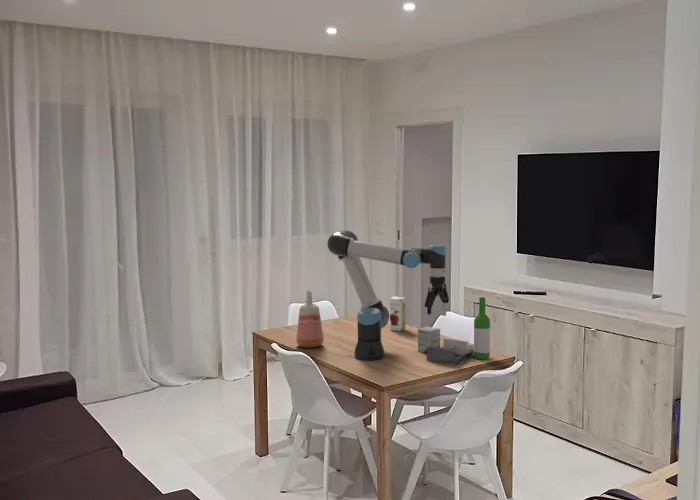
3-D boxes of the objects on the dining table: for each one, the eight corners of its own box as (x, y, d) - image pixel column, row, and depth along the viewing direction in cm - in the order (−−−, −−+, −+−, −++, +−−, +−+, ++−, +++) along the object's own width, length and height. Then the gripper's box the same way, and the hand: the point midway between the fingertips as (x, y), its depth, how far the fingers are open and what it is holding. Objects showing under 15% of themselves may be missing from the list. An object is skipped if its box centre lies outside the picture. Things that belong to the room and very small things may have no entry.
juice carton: (394, 327, 390) (394, 295, 388) (407, 329, 385) (407, 297, 383) (387, 330, 384) (387, 297, 382) (400, 332, 379) (400, 299, 377)
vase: (290, 346, 351) (289, 291, 347) (310, 341, 361) (309, 287, 358) (309, 351, 341) (308, 294, 337) (329, 345, 351) (328, 290, 348)
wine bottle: (472, 355, 330) (473, 296, 326) (488, 355, 330) (489, 296, 326) (474, 360, 322) (475, 299, 318) (490, 360, 322) (491, 299, 318)
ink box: (440, 350, 340) (440, 328, 338) (430, 354, 333) (431, 331, 332) (427, 347, 345) (427, 325, 344) (417, 351, 339) (417, 328, 338)
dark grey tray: (475, 355, 331) (475, 341, 330) (456, 365, 314) (456, 351, 313) (446, 350, 340) (446, 337, 339) (426, 360, 323) (426, 346, 322)
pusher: (468, 355, 327) (468, 341, 327) (463, 357, 323) (463, 343, 322) (444, 351, 335) (444, 337, 334) (439, 353, 330) (439, 340, 329)
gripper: (431, 280, 317) (430, 323, 320) (456, 273, 337) (455, 314, 340) (417, 278, 322) (417, 321, 324) (443, 272, 342) (442, 312, 344)
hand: (436, 317), depth 332 cm, fingers open, 13 cm apart
